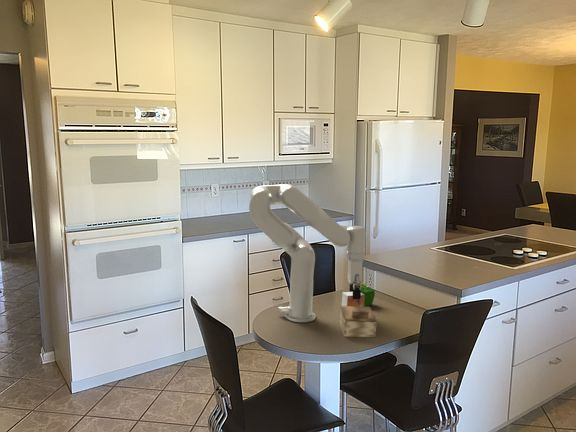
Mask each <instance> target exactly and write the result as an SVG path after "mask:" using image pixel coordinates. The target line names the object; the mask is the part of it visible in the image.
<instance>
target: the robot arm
mask: <svg viewBox="0 0 576 432" xmlns="http://www.w3.org/2000/svg"><path fill="white" fill-rule="evenodd" d="M276 205H284V207H286V208H287V209H289V210H290V211H291V212H292V213H293V214H295V215H296V216H298V217H299V218H300V219H301V220H303V221H304V222H305V224H307V225H308V226H309V227H311V228H313V229H314V230H316V231H317V232H319V234H320V235H321V236H322V237H324V238H326V239H327V240H328V241H329V242H330V243H332V244H333V246H336V247H337V248H344V247H346V260H348V261H347V281H348V283H349V289H348V290H349V291H348V292H353V299H361V287H362V286H361V283H363V282H362V281H363V262H364V261H365V260H366V238H367V237H366V232H367V231H366V227H364V226H361V225H351V226H350V225H348V226H347V225H342V224H341V225H340V223H338V222H337V221H335V220H334V218H332V217H331V216H330V215H329V214H328V213H326V211H324V209H323V208H322V207H320V206H319V205H318V203H315V202H314V201H313V200H312V199H311V198H309V197H308V196H307V195H306V194H305V193H303V191H301V190H300V189H299V188H297V187H296V186H295V185H293V184H290V183H284V184H283V183H281V184H270V185H268V184H266V185H258V186H256V187H254V188H253V189H252V190H251V193H250V200H249V206H248V210H249V211H248V213H249V216H250V218H251V220H252V222H253V223H254V224H255V225H256V226H257V228H259V229H260V231H262V233H264V235H266V236H267V237H268V238H269V240H271V241H272V243H274V245H275V246H277V247H278V248H280V249H283V251H284V252H286V253H287V254H288V255H289V256H290V260H291V261H290V262H291V263H290V280H289V281H290V282H289V283H290V284H289V287H290V288H289V304H288V306H278V312H281V314H285V319H287V320H288V321H291V322H295V323H309V322H312V321H314V320H316V317H317V316H316V314H315V312H313V297H314V295H313V294H314V272H315V263H316V253H315V251H314V248H313V247H312V245H311V244H310V243H309V242H308V241H307V240H306V239H305V238H304V237H303V236H302V235H301V234H300V233H299V232H298V231H297V230H295V228H294V227H292V226H291V225H290V224H289V223H287V222H284V221H283V220H281V219H280V217H278V216H277V215H276V214H275V213H274V212H273V211H272V209H271V206H276Z"/></svg>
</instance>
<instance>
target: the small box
mask: <svg viewBox="0 0 576 432" xmlns="http://www.w3.org/2000/svg"><path fill="white" fill-rule="evenodd" d="M364 297H365V295H364V294H362V293H361V299H353V292H350V291H343V292H342V296H341V306H352V307H364Z"/></svg>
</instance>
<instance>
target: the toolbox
mask: <svg viewBox="0 0 576 432" xmlns="http://www.w3.org/2000/svg"><path fill="white" fill-rule="evenodd" d="M339 312H340V314H339V316H340V317H339V324H340V328H341V330H342V331H341V332H342V334H343V337H347V338H348V337H352V338H354V337H356V338H376V336H377V334H376V332H377V320H376V321H345V320H344V317H343V314H342V311H341V310H340V311H339Z"/></svg>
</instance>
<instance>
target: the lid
mask: <svg viewBox="0 0 576 432" xmlns="http://www.w3.org/2000/svg"><path fill="white" fill-rule="evenodd" d="M340 311H342V314H343V317H344V320H345V321H376V322H377V318H376V316H375V314H374V312H373V310H372V308H371V307H370V306H368V307H352V306H342V305H341V306H340Z"/></svg>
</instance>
